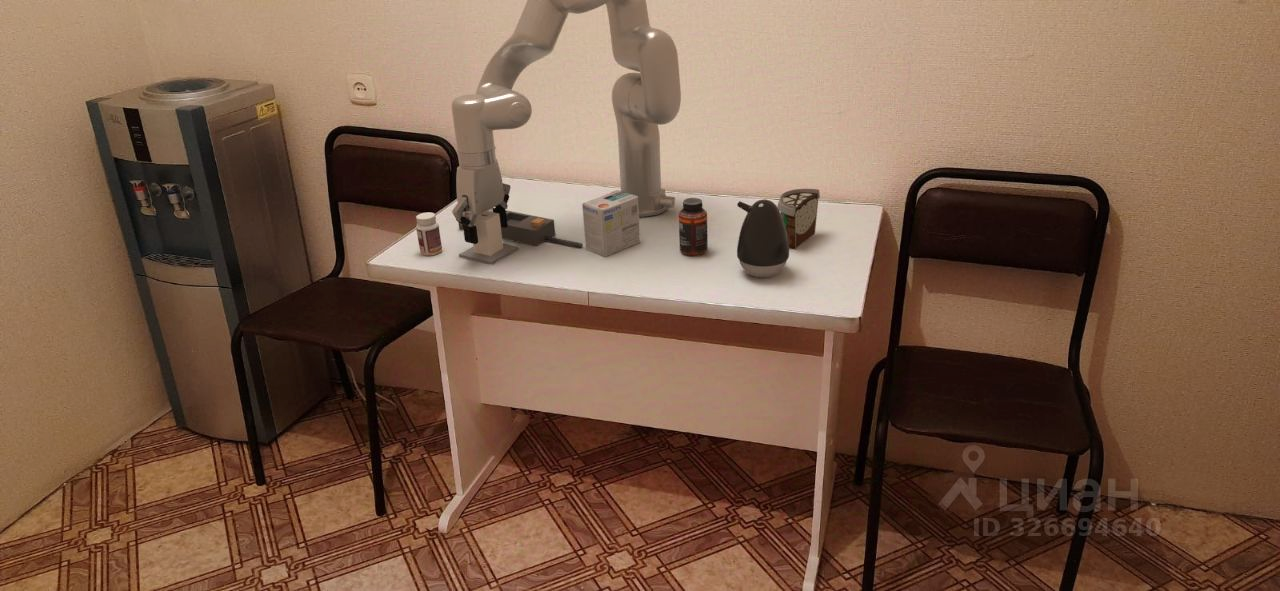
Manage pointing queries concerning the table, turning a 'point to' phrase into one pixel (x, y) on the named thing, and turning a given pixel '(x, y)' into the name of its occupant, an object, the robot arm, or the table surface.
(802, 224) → the food container
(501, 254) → the grey mat
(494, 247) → the block
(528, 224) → the power strip
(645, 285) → the table surface
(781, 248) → the pump dispenser
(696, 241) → the supplement bottle
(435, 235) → the pill bottle
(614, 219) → the light bulb box
